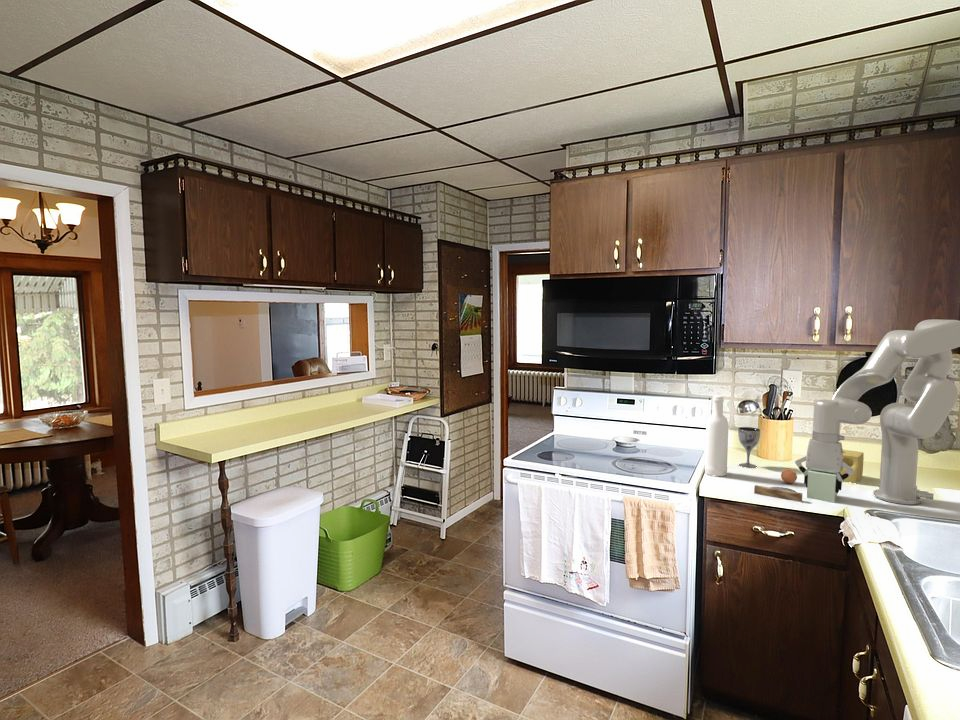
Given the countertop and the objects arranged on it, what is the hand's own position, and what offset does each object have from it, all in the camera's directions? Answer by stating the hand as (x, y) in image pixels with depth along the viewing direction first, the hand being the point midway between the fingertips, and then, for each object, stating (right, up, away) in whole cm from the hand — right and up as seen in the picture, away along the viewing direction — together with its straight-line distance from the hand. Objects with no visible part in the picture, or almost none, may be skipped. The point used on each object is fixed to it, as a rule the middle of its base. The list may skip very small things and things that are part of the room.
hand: (822, 488), depth 183 cm
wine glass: (-6, 0, +38) cm, 38 cm away
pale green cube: (0, -3, +1) cm, 3 cm away
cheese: (+21, -1, +21) cm, 30 cm away
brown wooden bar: (-14, -3, +1) cm, 15 cm away
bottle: (-24, -1, +27) cm, 36 cm away
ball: (-3, +1, +15) cm, 16 cm away
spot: (-10, -2, +6) cm, 12 cm away
